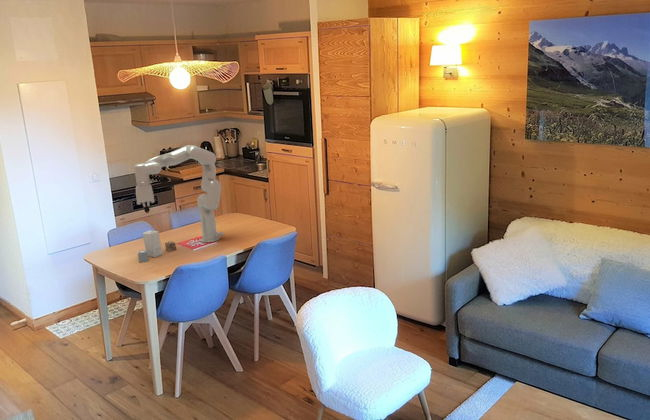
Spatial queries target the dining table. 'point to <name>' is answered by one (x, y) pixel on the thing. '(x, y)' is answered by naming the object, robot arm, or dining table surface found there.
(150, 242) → the skincare box
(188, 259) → the dining table surface
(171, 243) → the walnut block dot
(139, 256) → the slate block dot
